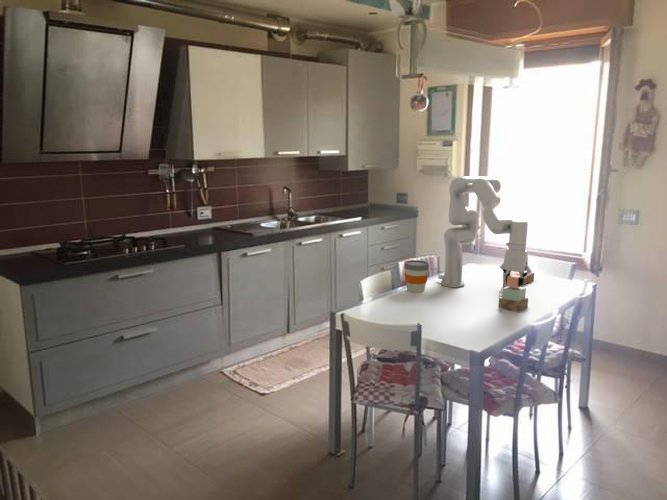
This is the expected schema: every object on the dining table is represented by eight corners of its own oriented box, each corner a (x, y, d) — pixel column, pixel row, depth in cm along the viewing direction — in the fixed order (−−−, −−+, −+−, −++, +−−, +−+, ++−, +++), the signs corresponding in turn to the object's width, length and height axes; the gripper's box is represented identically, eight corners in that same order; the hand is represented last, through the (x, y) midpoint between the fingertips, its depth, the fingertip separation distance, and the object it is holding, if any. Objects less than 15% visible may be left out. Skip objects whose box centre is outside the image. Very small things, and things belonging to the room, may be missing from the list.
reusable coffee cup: (418, 286, 295) (420, 259, 292) (432, 292, 284) (433, 264, 281) (399, 289, 290) (400, 261, 287) (412, 295, 279) (413, 266, 275)
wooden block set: (535, 271, 309) (522, 277, 296) (534, 280, 310) (521, 287, 297) (506, 266, 320) (493, 271, 306) (505, 275, 321) (492, 281, 308)
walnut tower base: (498, 308, 259) (499, 298, 258) (507, 303, 266) (508, 294, 265) (518, 313, 252) (519, 302, 251) (527, 308, 260) (528, 298, 259)
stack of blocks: (502, 287, 294) (503, 265, 291) (514, 288, 293) (516, 266, 290) (507, 299, 273) (509, 275, 271) (520, 299, 272) (522, 275, 270)
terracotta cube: (506, 286, 257) (507, 276, 256) (511, 284, 260) (512, 274, 259) (516, 288, 254) (517, 277, 253) (521, 286, 257) (522, 276, 256)
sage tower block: (501, 298, 258) (502, 288, 257) (508, 294, 264) (509, 284, 263) (518, 301, 253) (519, 291, 252) (525, 298, 259) (525, 287, 258)
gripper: (496, 245, 256) (493, 282, 260) (532, 250, 245) (528, 289, 249) (503, 243, 261) (500, 279, 265) (538, 248, 250) (535, 286, 254)
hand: (514, 284), depth 257 cm, fingers open, 5 cm apart
